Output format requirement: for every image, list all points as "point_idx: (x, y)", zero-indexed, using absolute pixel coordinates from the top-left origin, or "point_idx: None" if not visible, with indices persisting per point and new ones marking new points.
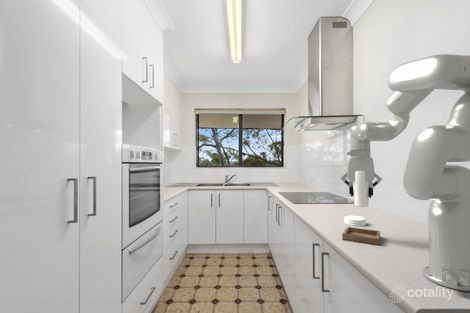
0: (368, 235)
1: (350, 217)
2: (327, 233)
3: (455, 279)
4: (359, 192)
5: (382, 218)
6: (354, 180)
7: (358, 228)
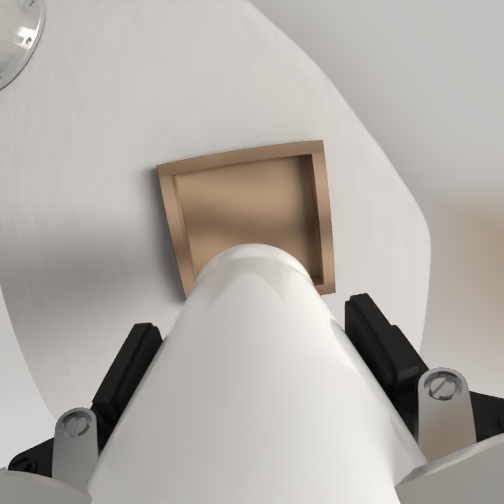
0: None
1: None
2: (396, 203)
3: None
4: (251, 300)
5: None
6: (413, 476)
7: None
